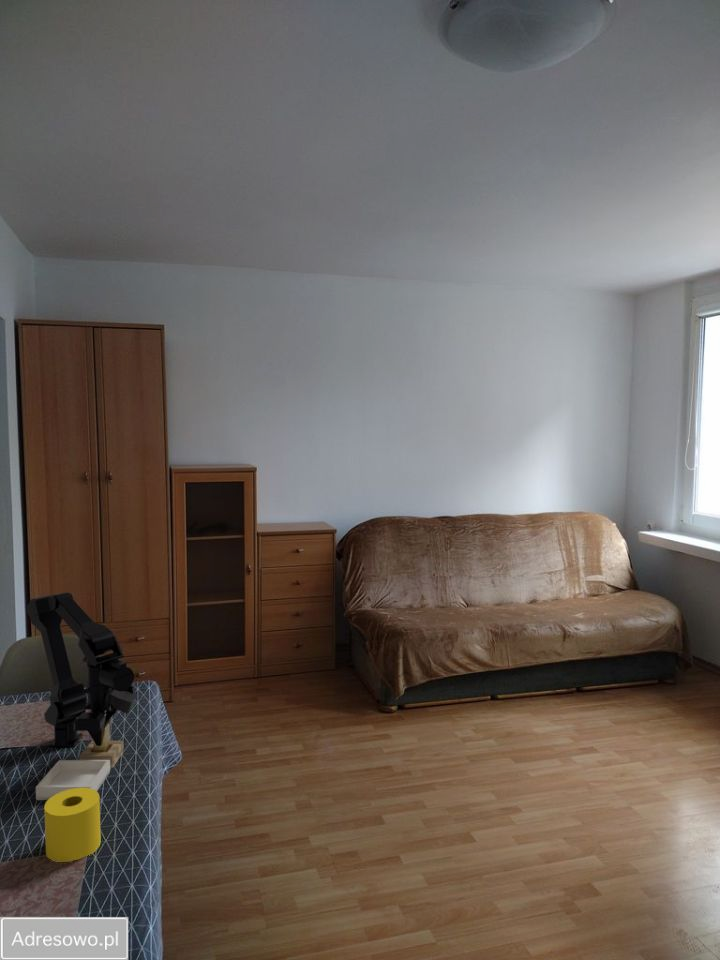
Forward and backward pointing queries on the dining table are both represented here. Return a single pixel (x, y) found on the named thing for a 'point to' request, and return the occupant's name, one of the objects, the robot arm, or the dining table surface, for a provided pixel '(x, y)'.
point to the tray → (73, 777)
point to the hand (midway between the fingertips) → (101, 742)
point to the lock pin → (103, 741)
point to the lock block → (104, 753)
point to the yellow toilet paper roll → (72, 824)
